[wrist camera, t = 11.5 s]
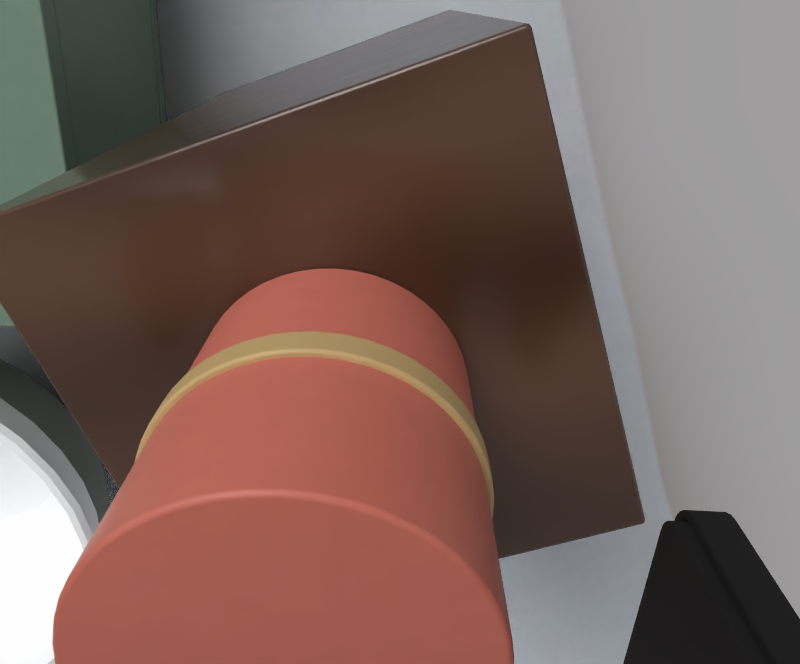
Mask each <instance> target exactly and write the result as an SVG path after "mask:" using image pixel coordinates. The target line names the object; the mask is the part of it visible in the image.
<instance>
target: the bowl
mask: <svg viewBox="0 0 800 664" xmlns="http://www.w3.org/2000/svg"><path fill="white" fill-rule="evenodd" d="M109 506H110V500H109V494H108V488H107V483H106V479H105V474H104V469H103V467H102V464H101V462H100V459H99V457H98V455H97V454H96V452H95V451H94V449H93V447H92V446H91V444H90V443H89V441H88V440H87V438H86V436H85V435H84V433H83V432H82V430H81V429H80V427H79V425H78V424H77V422H76V421H75V419H74V418H73V416H72V415H71V413H70V411H69V410H68V409H67V408H66V407H65V406H64V405H63V404H62V403H61V402H60V401H59V400H58V399H57V398H56V397H55V396H54V395H53V394H52V393H51V392H49V391H48V390H47V389H45V388H44V387H43V386H42V385H40V384H39V383H38V382H36V381H35V380H34V379H32V378H31V377H30V376H28V375H27V374H26V373H24V372H22V371H21V370H19V369H17V368H15V367H13V366H11V365H10V364H8V363H6V362H4V361H2V360H1V359H0V664H55V659H54V651H53V644H52V640H53V621H54V614H55V610H56V606H57V602H58V599H59V595H60V593H61V591H62V589H63V587H64V585H65V583H66V581H67V579H68V576H69V575H70V573H71V571H72V569H73V568H74V566H75V564H76V563H77V561H78V559H79V557H80V556H81V554H82V552H83V551H84V549H85V547H86V546H87V544H88V542H89V540H90V539H91V537H92V535H93V534H94V532H95V530H96V528H97V527H98V525H99V523H100V522H101V520H102V518H103V516H104V515H105V513H106V511H107V510H108V508H109Z"/></svg>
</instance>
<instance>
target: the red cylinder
mask: <svg viewBox="0 0 800 664" xmlns="http://www.w3.org/2000/svg"><path fill="white" fill-rule="evenodd" d="M493 507H494V491H493V481H492V474H491V469H490V463H489V458H488V454H487V450H486V447H485V443H484V439H483V437H482V435H481V433H480V431H479V428H478V426H477V424H476V422H475V416H474V410H473V404H472V398H471V392H470V386H469V380H468V374H467V369H466V366H465V362H464V358H463V355H462V353H461V350H460V348H459V346H458V343H457V341H456V339H455V338H454V336H453V335H452V333H451V331H450V330H449V328H448V326H447V325H446V324H445V323H444V322H443V320H442V319H441V318H440V317H439V316H438V314H437V313H436V312H435V311H434V310H432V309H431V308H430V307H429V306H428V305H427V304H426V303H425V302H424V301H422V300H421V299H420V298H418V297H417V296H415V295H414V294H413V293H411V292H410V291H408V290H406V289H404V288H402V287H401V286H399V285H397V284H395V283H393V282H391V281H388V280H385V279H383V278H380V277H377V276H375V275H371V274H367V273H363V272H359V271H353V270H345V269H311V270H304V271H297V272H294V273H290V274H286V275H282V276H279V277H277V278H274V279H272V280H269V281H267V282H265V283H263V284H261V285H259V286H257V287H256V288H254V289H252V290H250V291H249V292H247V293H246V294H245V295H244V296H242V297H241V298H240V299H238V300H237V301H236V302H235V303H234V304H233V305H232V306H231V307H230V308H229V309H228V310H227V311H226V312H225V313H224V314H223V315H222V317H221V318H220V320H219V321H218V323H217V324H216V325H215V327H214V328H213V330H212V332H211V333H210V335H209V337H208V339H207V340H206V342H205V344H204V345H203V347H202V349H201V351H200V352H199V354H198V356H197V357H196V359H195V361H194V363H193V364H192V366H191V368H190V369H189V371H188V373H187V374H186V375H185V376H184V377H183V378H182V379H181V380H180V381H179V382H178V383H177V384H176V385H175V386H174V387H173V388H172V389H171V391H170V392H169V393H168V395H167V396H166V398H165V399H164V401H163V402H162V403H161V405H160V406H159V408H158V410H157V411H156V413H155V415H154V416H153V418H152V420H151V421H150V423H149V425H148V427H147V429H146V431H145V433H144V435H143V437H142V439H141V441H140V445H139V448H138V452H137V455H136V459H135V463H134V465H133V467H132V469H131V470H130V472H129V474H128V475H127V477H126V479H125V481H124V482H123V484H122V486H121V487H120V489H119V491H118V493H117V494H116V496H115V498H114V499H113V501H112V503H111V504H110V506H109V508H108V510H107V511H106V513H105V515H104V516H103V518H102V520H101V522H100V523H99V525H98V527H97V528H96V530H95V532H94V534H93V535H92V537H91V539H90V540H89V542H88V544H87V546H86V547H85V549H84V551H83V552H82V554H81V556H80V557H79V559H78V561H77V563H76V564H75V566H74V568H73V569H72V571H71V573H70V575H69V576H68V579H67V581H66V583H65V585H64V587H63V589H62V591H61V593H60V595H59V599H58V602H57V606H56V610H55V614H54V621H53V640H52V644H53V651H54V659H55V664H514V652H513V642H512V634H511V629H510V623H509V617H508V611H507V605H506V599H505V593H504V587H503V581H502V575H501V569H500V564H499V558H498V552H497V546H496V540H495V534H494V528H493V522H492V518H493Z"/></svg>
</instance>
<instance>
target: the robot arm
mask: <svg viewBox="0 0 800 664" xmlns="http://www.w3.org/2000/svg"><path fill="white" fill-rule="evenodd" d="M624 664H800V619H799V617H798V616H797V614H796V613H795V611H794V609H793V608H792V606H791V605H790V603H789V602H788V600H787V599H786V597H785V596H784V594H783V593H782V592H781V590H780V588H779V586H778V585H777V583H776V582H775V580H774V579H773V577H772V576H771V574H770V573H769V571H768V569H767V568H766V566H765V565H764V563H763V562H762V560H761V559H760V557H759V556H758V554H757V553H756V551H755V549H754V548H753V546H752V545H751V543H750V542H749V540H748V539H747V537H746V536H745V534H744V532H743V531H742V529H741V528H740V526H739V525H738V523H737V522H736V520H735V519H734V518H733V517H732V516H731V515H730V514H728V513H726V512H711V511H691V510H683V511H680V512H679V513H678V514H677V516H676V518H675V520H674V521H666V522H665V523H664V524H663V526H662V529H661V532H660V535H659V539H658V542H657V546H656V549H655V553H654V557H653V560H652V564H651V567H650V571H649V574H648V578H647V581H646V585H645V589H644V592H643V596H642V599H641V603H640V606H639V610H638V614H637V617H636V621H635V624H634V628H633V631H632V635H631V638H630V642H629V646H628V649H627V653H626V656H625V660H624Z"/></svg>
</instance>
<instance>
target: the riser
mask: <svg viewBox="0 0 800 664" xmlns="http://www.w3.org/2000/svg"><path fill="white" fill-rule="evenodd" d="M311 269H345V270H353V271H359V272H363V273H367V274H371V275H375V276H377V277H380V278H383V279H385V280H388V281H391V282H393V283H395V284H397V285H399V286H401V287H402V288H404V289H406V290H408V291H410V292H411V293H413V294H414V295H415V296H417V297H418V298H420V299H421V300H422V301H424V302H425V303H426V304H427V305H428V306H429V307H430V308H431V309H432V310H434V311H435V312H436V313H437V314H438V316H439V317H440V318H441V319H442V320H443V322H444V323H445V324H446V325H447V326H448V328H449V330H450V331H451V333H452V335H453V336H454V338H455V339H456V341H457V343H458V346H459V348H460V350H461V353H462V355H463V358H464V362H465V366H466V369H467V374H468V380H469V386H470V392H471V398H472V404H473V410H474V416H475V422H476V424H477V426H478V428H479V431H480V433H481V435H482V437H483V439H484V443H485V447H486V450H487V454H488V458H489V463H490V469H491V474H492V481H493V491H494V507H493V518H492V522H493V528H494V534H495V540H496V546H497V552H498V558H499V559H500V558H504V557H508V556H512V555H516V554H520V553H525V552H529V551H533V550H537V549H541V548H545V547H549V546H553V545H557V544H561V543H565V542H570V541H574V540H578V539H582V538H586V537H590V536H594V535H598V534H602V533H606V532H611V531H615V530H619V529H623V528H627V527H631V526H635V525H639V524H643V523H644V521H645V517H644V513H643V509H642V504H641V500H640V496H639V491H638V487H637V483H636V478H635V474H634V470H633V465H632V461H631V457H630V452H629V448H628V444H627V439H626V435H625V431H624V426H623V422H622V418H621V413H620V409H619V405H618V400H617V396H616V392H615V387H614V383H613V379H612V374H611V370H610V366H609V361H608V357H607V353H606V348H605V344H604V340H603V335H602V331H601V327H600V322H599V318H598V314H597V309H596V305H595V301H594V296H593V292H592V288H591V283H590V279H589V275H588V270H587V266H586V262H585V257H584V253H583V249H582V244H581V240H580V236H579V231H578V227H577V223H576V218H575V214H574V210H573V205H572V201H571V197H570V192H569V188H568V184H567V179H566V175H565V171H564V166H563V162H562V158H561V153H560V149H559V145H558V140H557V136H556V132H555V127H554V123H553V119H552V114H551V110H550V106H549V101H548V97H547V93H546V88H545V84H544V80H543V75H542V71H541V67H540V62H539V58H538V54H537V49H536V45H535V41H534V36H533V32H532V28H531V26H530V25H529V24H526V23H521V22H515V21H510V20H504V19H498V18H493V17H487V16H481V15H476V14H470V13H465V12H459V11H453V10H448V11H445V12H443V13H440V14H437V15H434V16H432V17H429V18H426V19H423V20H421V21H418V22H415V23H413V24H410V25H407V26H404V27H402V28H399V29H396V30H393V31H391V32H388V33H385V34H383V35H380V36H377V37H374V38H372V39H369V40H366V41H363V42H361V43H358V44H355V45H353V46H350V47H347V48H344V49H342V50H339V51H336V52H333V53H331V54H328V55H325V56H323V57H320V58H317V59H314V60H312V61H309V62H306V63H303V64H301V65H298V66H295V67H293V68H290V69H287V70H284V71H282V72H279V73H276V74H273V75H271V76H268V77H265V78H263V79H260V80H257V81H254V82H252V83H249V84H246V85H243V86H241V87H238V88H235V89H233V90H230V91H227V92H224V93H222V94H220V95H218V96H216V97H214V98H212V99H210V100H208V101H206V102H204V103H202V104H200V105H198V106H196V107H194V108H192V109H190V110H188V111H186V112H184V113H182V114H180V115H178V116H176V117H174V118H172V119H170V120H168V121H166V122H164V123H162V124H160V125H158V126H157V127H155V128H153V129H151V130H149V131H147V132H145V133H143V134H141V135H139V136H137V137H135V138H133V139H131V140H129V141H127V142H125V143H123V144H121V145H119V146H117V147H115V148H113V149H111V150H109V151H107V152H105V153H103V154H101V155H99V156H97V157H95V158H93V159H91V160H89V161H87V162H85V163H83V164H81V165H79V166H77V167H75V168H73V169H71V170H69V171H67V172H65V173H63V174H61V175H59V176H57V177H55V178H53V179H51V180H49V181H47V182H45V183H43V184H41V185H39V186H37V187H35V188H33V189H31V190H29V191H27V192H25V193H23V194H21V195H19V196H17V197H15V198H13V199H11V200H9V201H7V202H5V203H3V204H1V205H0V303H1V305H2V307H3V308H4V310H5V311H6V313H7V314H8V316H9V318H10V319H11V321H12V322H13V324H14V325H15V327H16V329H17V330H18V332H19V333H20V335H21V336H22V338H23V339H24V341H25V343H26V344H27V346H28V347H29V349H30V350H31V352H32V354H33V355H34V357H35V358H36V360H37V361H38V363H39V364H40V366H41V368H42V369H43V371H44V372H45V374H46V375H47V377H48V379H49V380H50V382H51V383H52V385H53V386H54V388H55V390H56V391H57V393H58V394H59V396H60V397H61V399H62V400H63V402H64V404H65V405H66V407H67V408H68V410H69V411H70V413H71V415H72V416H73V418H74V419H75V421H76V422H77V424H78V425H79V427H80V429H81V430H82V432H83V433H84V435H85V436H86V438H87V440H88V441H89V443H90V444H91V446H92V447H93V449H94V451H95V452H96V454H97V455H98V457H99V458H100V460H101V461H102V463H103V465H104V466H105V468H106V469H107V471H108V472H109V474H110V476H111V477H112V479H113V480H114V482H115V483H116V485H117V486H118V488H119V489H120V487H121V486H122V484H123V482H124V481H125V479H126V477H127V475H128V474H129V472H130V470H131V469H132V467H133V465H134V463H135V459H136V455H137V452H138V448H139V445H140V441H141V439H142V437H143V435H144V433H145V431H146V429H147V427H148V425H149V423H150V421H151V420H152V418H153V416H154V415H155V413H156V411H157V410H158V408H159V406H160V405H161V403H162V402H163V401H164V399H165V398H166V396H167V395H168V393H169V392H170V391H171V389H172V388H173V387H174V386H175V385H176V384H177V383H178V382H179V381H180V380H181V379H182V378H183V377H184V376H185V375H186V374H187V373H188V371H189V369H190V368H191V366H192V364H193V363H194V361H195V359H196V357H197V356H198V354H199V352H200V351H201V349H202V347H203V345H204V344H205V342H206V340H207V339H208V337H209V335H210V333H211V332H212V330H213V328H214V327H215V325H216V324H217V323H218V321H219V320H220V318H221V317H222V315H223V314H224V313H225V312H226V311H227V310H228V309H229V308H230V307H231V306H232V305H233V304H234V303H235V302H236V301H237V300H238V299H240V298H241V297H242V296H244V295H245V294H246V293H247V292H249V291H250V290H252V289H254V288H256V287H257V286H259V285H261V284H263V283H265V282H267V281H269V280H272V279H274V278H277V277H279V276H282V275H286V274H290V273H294V272H297V271H304V270H311Z"/></svg>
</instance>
